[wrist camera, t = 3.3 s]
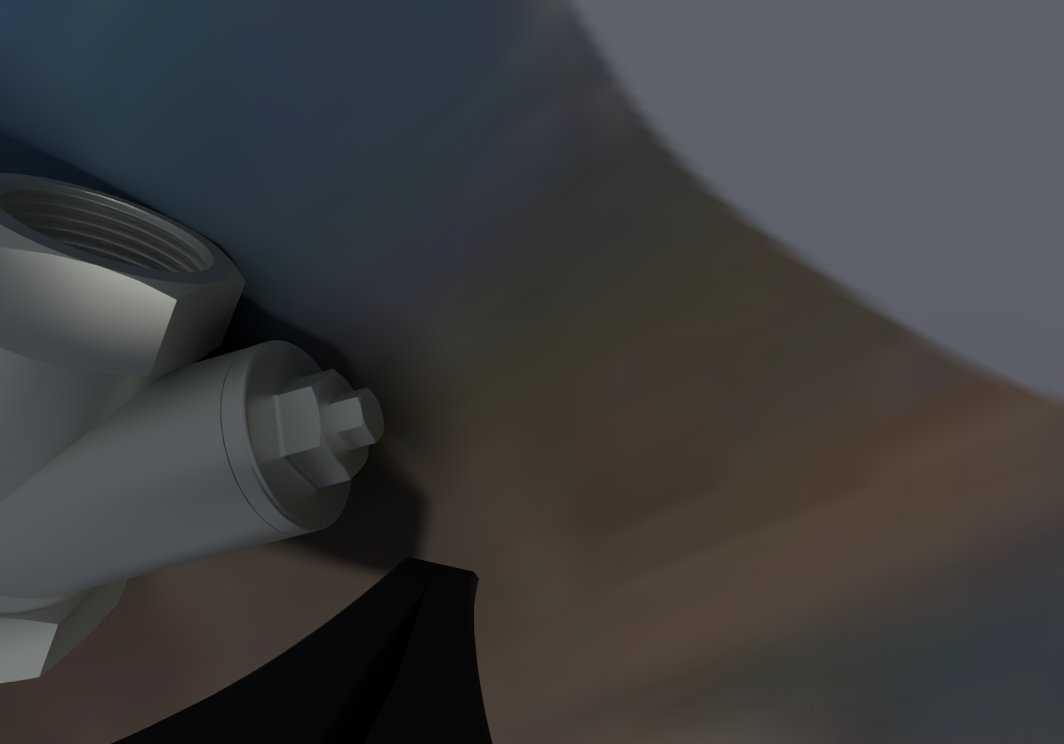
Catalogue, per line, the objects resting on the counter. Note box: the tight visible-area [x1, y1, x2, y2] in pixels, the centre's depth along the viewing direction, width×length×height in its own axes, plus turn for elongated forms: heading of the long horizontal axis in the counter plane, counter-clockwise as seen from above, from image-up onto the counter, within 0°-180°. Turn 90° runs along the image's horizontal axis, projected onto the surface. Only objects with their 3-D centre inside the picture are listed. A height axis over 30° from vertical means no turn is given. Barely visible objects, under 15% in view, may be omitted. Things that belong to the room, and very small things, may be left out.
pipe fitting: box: [0, 173, 384, 683], centre depth 10 cm, size 8×4×7 cm
